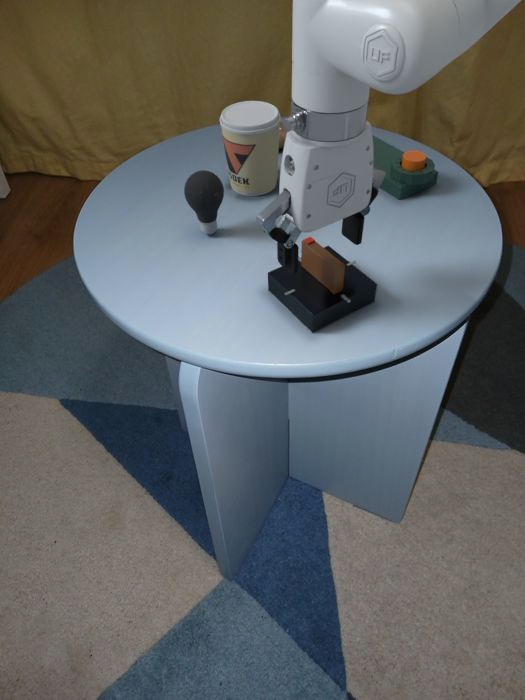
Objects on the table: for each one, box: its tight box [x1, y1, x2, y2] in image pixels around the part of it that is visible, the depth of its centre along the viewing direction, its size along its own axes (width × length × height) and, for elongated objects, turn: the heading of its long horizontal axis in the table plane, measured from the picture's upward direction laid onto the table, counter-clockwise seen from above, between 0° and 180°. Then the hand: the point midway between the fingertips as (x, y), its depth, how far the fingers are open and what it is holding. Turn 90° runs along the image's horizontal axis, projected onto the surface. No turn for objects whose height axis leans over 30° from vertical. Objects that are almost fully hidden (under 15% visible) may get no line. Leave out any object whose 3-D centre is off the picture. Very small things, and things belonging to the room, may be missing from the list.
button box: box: [372, 134, 439, 200], centre depth 93 cm, size 19×8×4 cm, turn 33°
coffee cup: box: [219, 100, 282, 197], centre depth 88 cm, size 9×9×12 cm
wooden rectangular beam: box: [300, 236, 345, 294], centre depth 69 cm, size 7×1×4 cm, turn 33°
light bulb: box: [183, 169, 225, 236], centre depth 80 cm, size 6×6×10 cm
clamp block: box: [267, 245, 378, 334], centre depth 72 cm, size 11×11×3 cm
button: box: [401, 149, 427, 171], centre depth 87 cm, size 4×4×2 cm
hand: (320, 252), depth 68 cm, fingers open, 9 cm apart
